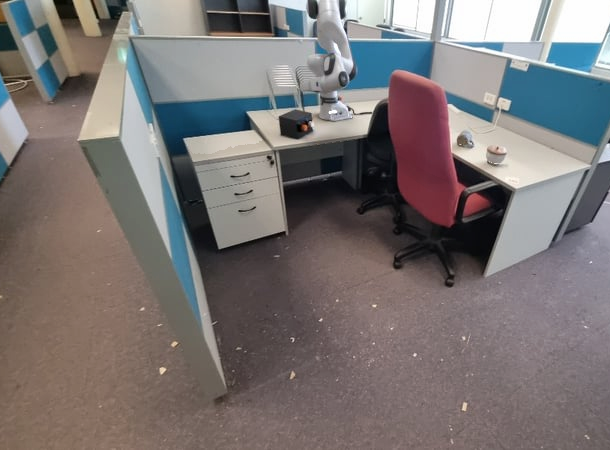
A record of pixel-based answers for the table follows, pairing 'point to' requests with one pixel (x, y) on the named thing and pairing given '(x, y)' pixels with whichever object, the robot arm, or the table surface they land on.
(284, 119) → the toaster oven
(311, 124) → the ivory button
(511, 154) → the table surface
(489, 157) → the trinket box
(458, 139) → the grey rounded lump
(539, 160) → the table surface
